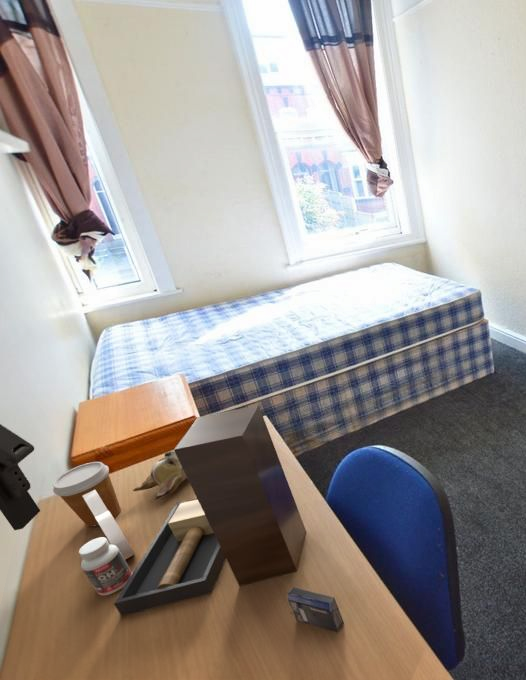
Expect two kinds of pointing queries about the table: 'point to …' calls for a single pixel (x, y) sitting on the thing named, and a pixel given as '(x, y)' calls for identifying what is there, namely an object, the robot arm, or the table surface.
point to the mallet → (185, 539)
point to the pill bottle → (104, 566)
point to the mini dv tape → (315, 609)
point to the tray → (157, 560)
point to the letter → (108, 524)
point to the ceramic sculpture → (165, 475)
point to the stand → (243, 493)
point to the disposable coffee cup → (87, 490)
